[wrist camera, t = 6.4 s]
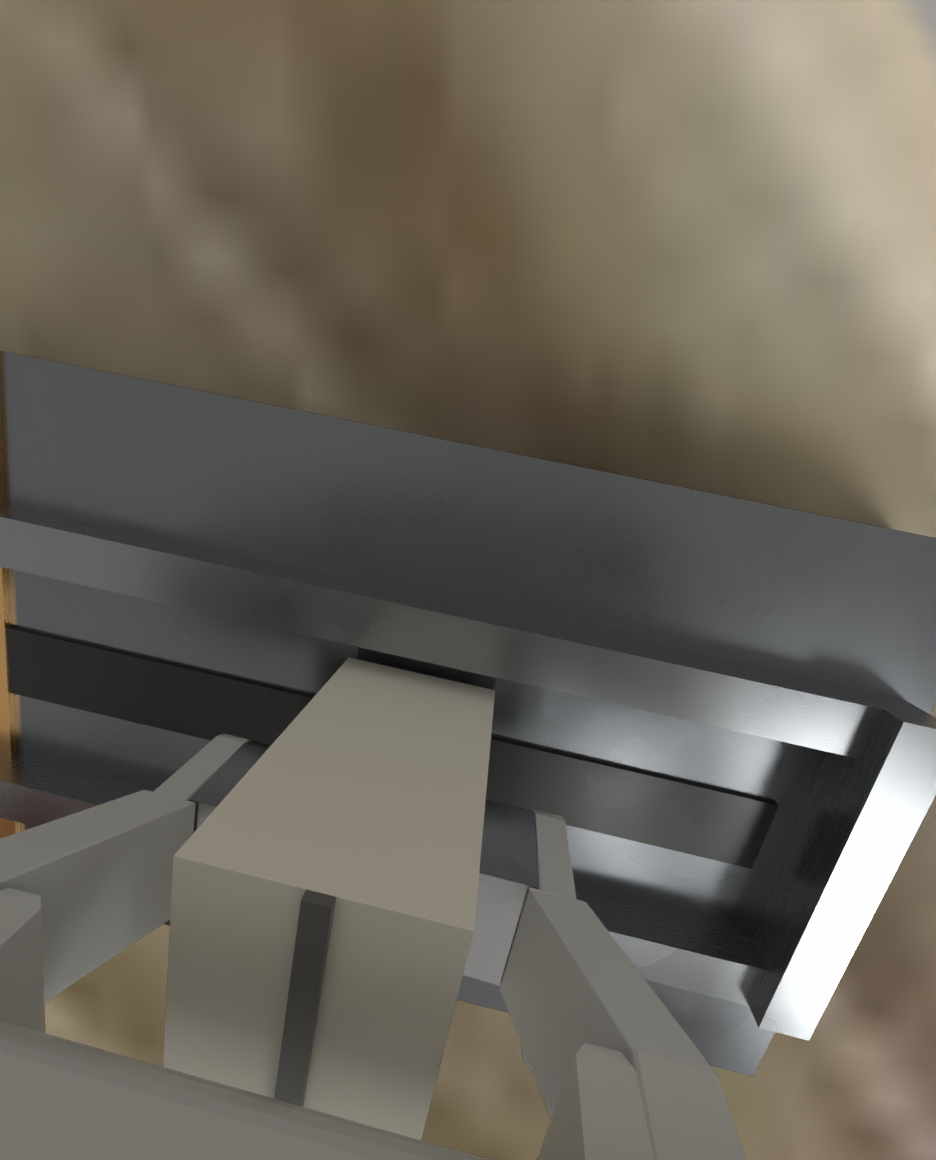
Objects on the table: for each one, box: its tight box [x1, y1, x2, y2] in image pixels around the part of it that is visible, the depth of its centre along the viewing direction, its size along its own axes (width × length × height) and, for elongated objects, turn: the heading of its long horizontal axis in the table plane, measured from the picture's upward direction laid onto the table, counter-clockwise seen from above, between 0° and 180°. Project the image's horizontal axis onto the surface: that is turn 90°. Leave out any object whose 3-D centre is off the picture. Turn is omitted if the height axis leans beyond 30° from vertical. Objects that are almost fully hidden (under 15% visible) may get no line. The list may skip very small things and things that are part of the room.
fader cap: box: [163, 658, 495, 1140], centre depth 7 cm, size 3×4×5 cm
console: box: [0, 351, 936, 1076], centre depth 11 cm, size 26×13×4 cm, turn 79°
